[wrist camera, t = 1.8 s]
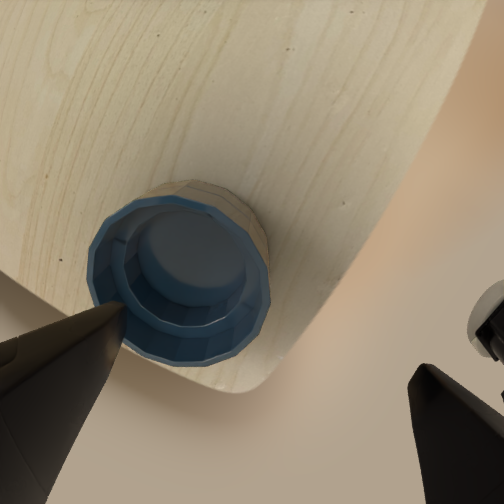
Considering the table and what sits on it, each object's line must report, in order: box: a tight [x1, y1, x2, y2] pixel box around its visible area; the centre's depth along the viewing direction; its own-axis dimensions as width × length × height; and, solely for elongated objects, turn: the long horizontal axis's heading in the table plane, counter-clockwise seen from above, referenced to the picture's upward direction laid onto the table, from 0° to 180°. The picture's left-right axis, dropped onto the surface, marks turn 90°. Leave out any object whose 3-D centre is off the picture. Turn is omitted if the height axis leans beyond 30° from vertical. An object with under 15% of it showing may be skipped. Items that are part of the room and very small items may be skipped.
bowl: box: [86, 180, 271, 367], centre depth 17 cm, size 9×9×5 cm
